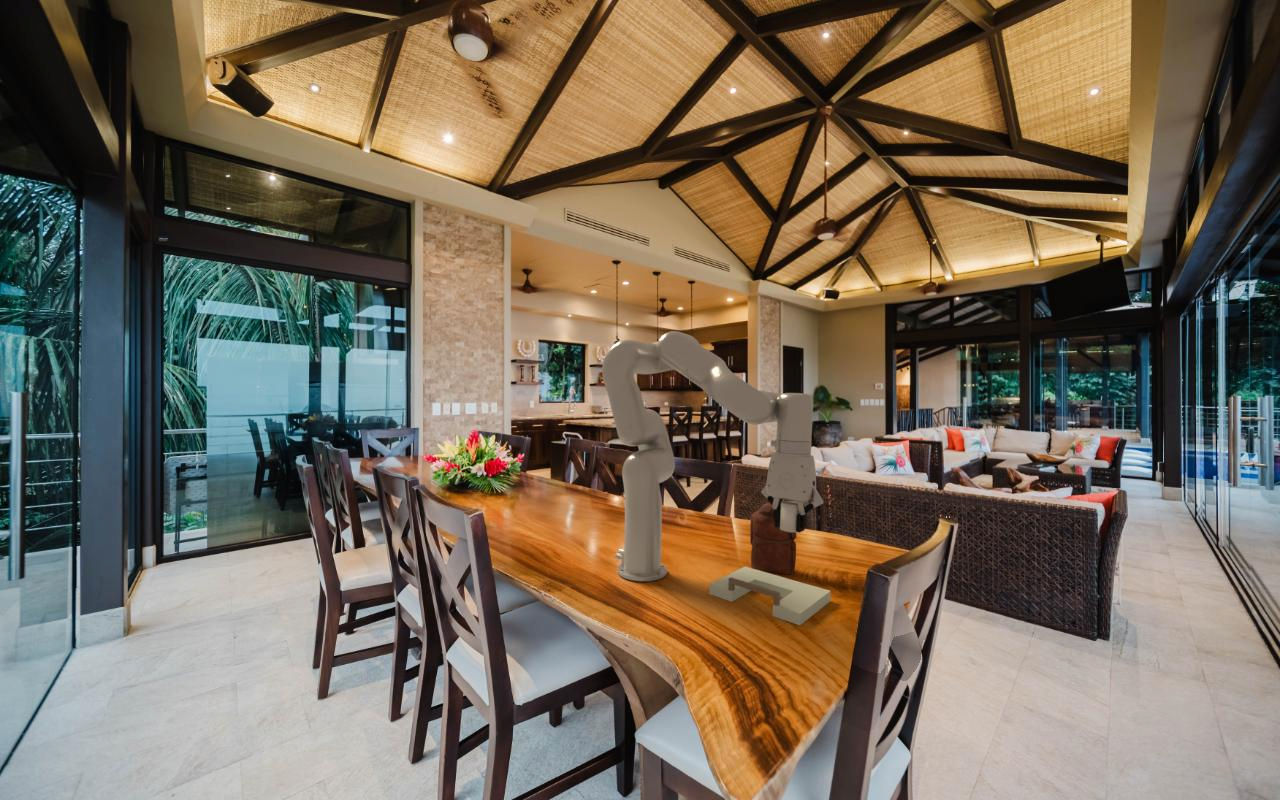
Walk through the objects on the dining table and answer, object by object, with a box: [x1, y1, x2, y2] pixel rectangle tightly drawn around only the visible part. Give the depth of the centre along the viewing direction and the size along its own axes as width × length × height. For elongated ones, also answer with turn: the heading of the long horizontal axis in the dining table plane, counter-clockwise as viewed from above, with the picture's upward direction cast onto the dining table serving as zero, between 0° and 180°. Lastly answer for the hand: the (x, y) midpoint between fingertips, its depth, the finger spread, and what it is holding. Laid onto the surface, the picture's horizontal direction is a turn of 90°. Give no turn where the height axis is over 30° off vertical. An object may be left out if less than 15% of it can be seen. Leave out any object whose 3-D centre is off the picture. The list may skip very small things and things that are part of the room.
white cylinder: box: [780, 500, 799, 533], centre depth 112 cm, size 4×4×6 cm
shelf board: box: [708, 566, 832, 626], centre depth 114 cm, size 22×16×5 cm
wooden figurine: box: [749, 501, 797, 575], centre depth 132 cm, size 12×6×18 cm, turn 75°
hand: (789, 527), depth 112 cm, fingers closed on white cylinder, 4 cm apart
